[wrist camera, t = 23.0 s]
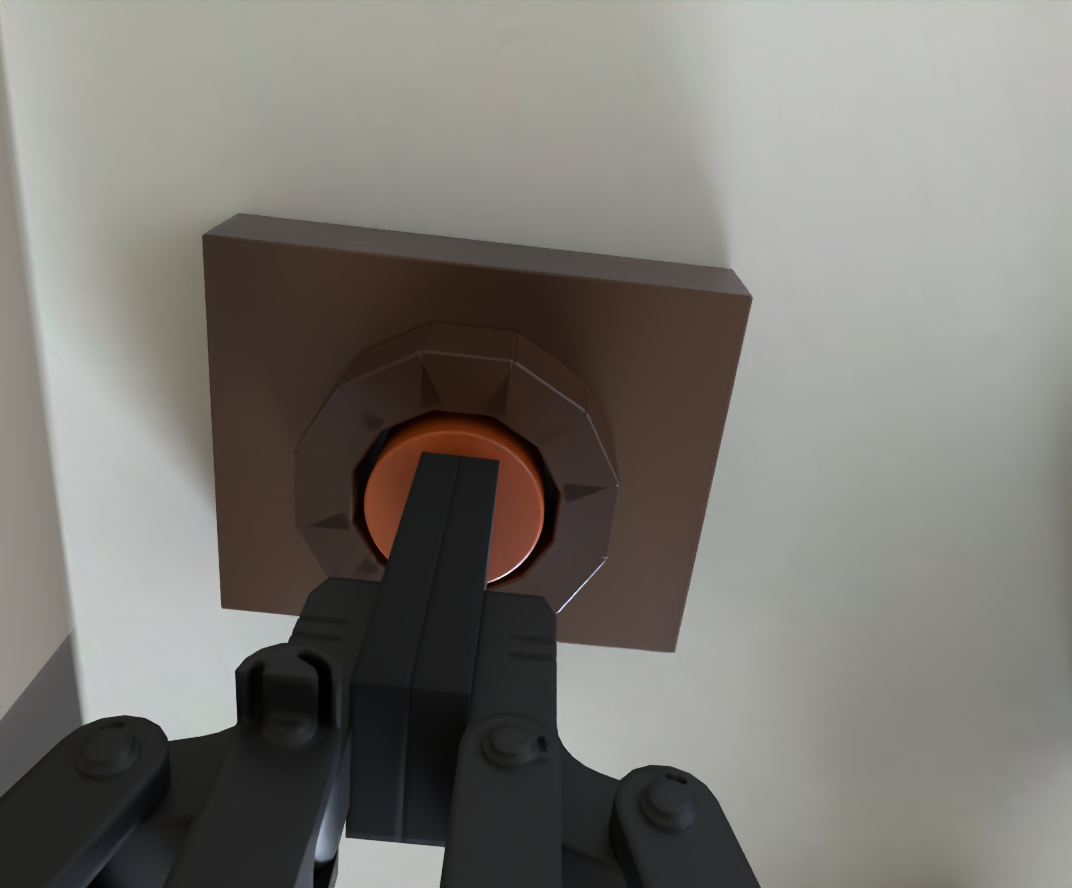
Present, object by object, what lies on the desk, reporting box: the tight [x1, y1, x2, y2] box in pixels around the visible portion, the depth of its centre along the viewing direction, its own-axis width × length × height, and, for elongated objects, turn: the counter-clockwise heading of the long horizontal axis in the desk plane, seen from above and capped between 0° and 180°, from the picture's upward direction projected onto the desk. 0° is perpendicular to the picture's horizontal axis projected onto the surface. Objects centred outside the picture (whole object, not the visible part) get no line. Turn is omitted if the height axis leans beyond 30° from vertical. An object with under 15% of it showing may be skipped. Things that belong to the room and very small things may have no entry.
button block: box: [202, 213, 753, 654], centre depth 20 cm, size 11×9×4 cm
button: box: [364, 410, 545, 583], centre depth 18 cm, size 4×4×2 cm
